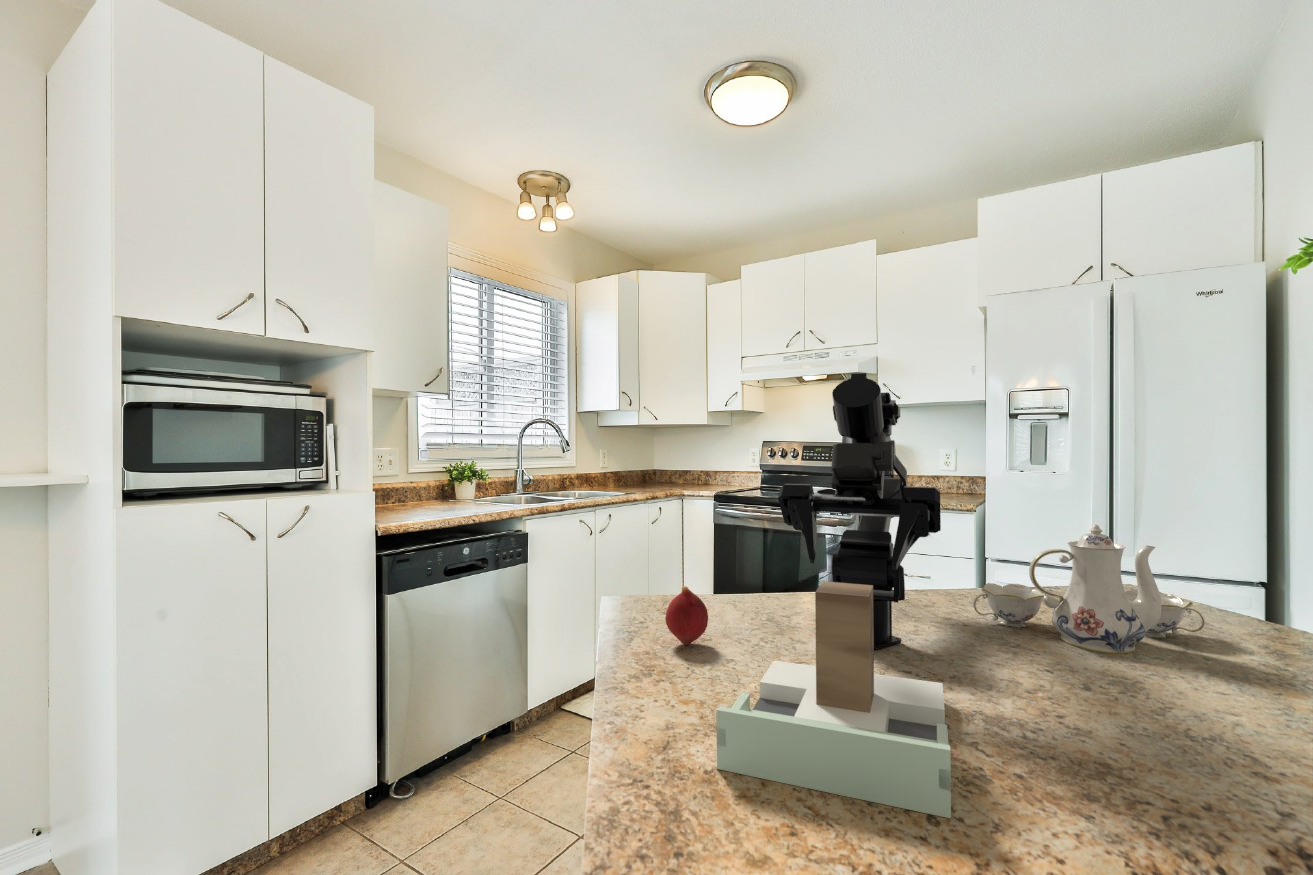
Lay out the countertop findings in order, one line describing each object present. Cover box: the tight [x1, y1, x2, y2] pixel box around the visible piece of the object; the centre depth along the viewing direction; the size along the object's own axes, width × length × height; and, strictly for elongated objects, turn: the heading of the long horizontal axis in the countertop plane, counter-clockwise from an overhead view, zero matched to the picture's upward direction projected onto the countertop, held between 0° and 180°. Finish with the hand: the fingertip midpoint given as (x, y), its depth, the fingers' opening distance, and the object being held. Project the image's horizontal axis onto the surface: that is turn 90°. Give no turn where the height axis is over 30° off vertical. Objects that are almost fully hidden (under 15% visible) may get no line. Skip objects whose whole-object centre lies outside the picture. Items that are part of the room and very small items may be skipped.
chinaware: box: [972, 523, 1205, 654], centre depth 88 cm, size 28×17×17 cm, turn 78°
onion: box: [664, 585, 709, 646], centre depth 85 cm, size 6×6×8 cm
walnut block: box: [814, 580, 875, 713], centre depth 62 cm, size 5×5×11 cm
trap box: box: [716, 660, 952, 819], centre depth 59 cm, size 22×18×5 cm
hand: (851, 564), depth 71 cm, fingers open, 9 cm apart
